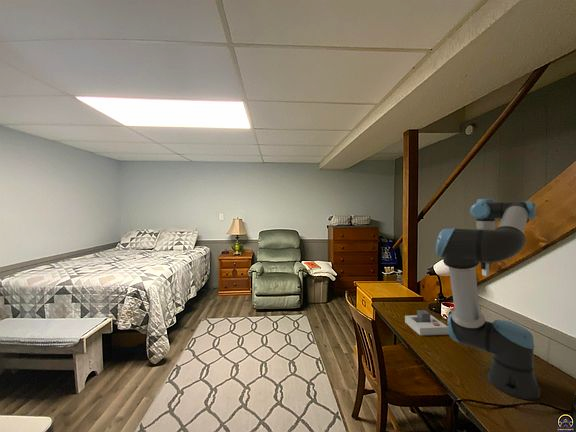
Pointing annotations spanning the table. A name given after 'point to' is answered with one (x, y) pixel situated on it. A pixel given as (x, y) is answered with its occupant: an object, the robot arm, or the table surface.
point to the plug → (423, 316)
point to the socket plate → (427, 326)
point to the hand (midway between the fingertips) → (485, 275)
